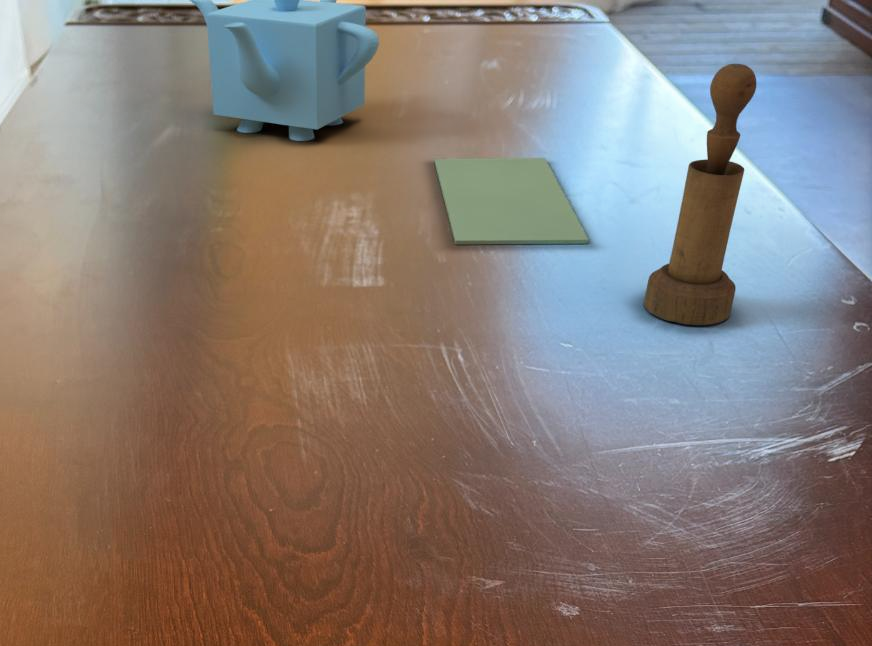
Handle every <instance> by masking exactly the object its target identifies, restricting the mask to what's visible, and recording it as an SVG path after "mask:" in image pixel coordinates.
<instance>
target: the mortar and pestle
mask: <svg viewBox="0 0 872 646" xmlns="http://www.w3.org/2000/svg"><path fill="white" fill-rule="evenodd" d="M756 77H757V76H756V74H755V71H754V70H753V69H752V68H751V67H750V66H748V65H746V64H744V63H743V64H742V63H729V64H726V65H724V66H722V67H721V68H720V69H718V70H717V72H716V73H714V76H713V78H712V80H711V82H710V87H709V95H710V99H711V102H712V105H713V108H714V111H715V122H714V126H713V127H712V129H709V130H707V132H706V156H707V159H697V160H694V161H691V162H689V163H688V167H687V172H686V177H685V183H684V188H683V194H682V199H681V204H680V209H679V214H678V219H677V225H676V230H675V235H674V240H673V245H672V248H671V252H670V253H671V254H670V259H669V263H666V264H664V265H662V266H661V267H660V268H658V269H656V270H654V271H652V273H651V274H649V276H648V280H647V284H646V289H645V294H644V300H643V306H644V308H645V310H646V311H648V313H650V314H651V315H653V316H655V317H657V318H659V319H661V320H663V321H667V322H672V323H677V324H680V325H687V326H710V325H717V324H719V323H722V322H724V321H726V320H728V318H729V317H730V315H731V313H732V309H733V304H734V299H735V294H736V289H737V288H736V284H735V282H734V281H733V280H732V279H731V278H730V277H729V275H728V273H726V271H724V270H723V266H724V261H725V256H726V251H727V247H728V243H729V238H730V234H731V228H732V225H733V220H734V215H735V212H736V208H737V203H738V199H739V195H740V191H741V187H742V183H743V182H742V181H743V178H744V174H745V167H743V166H742V165H741V164H740V163H737V162H734V161H730V160H731V158H732V156H733V154H734V152H735V150H736V149H737V146H738V145H739V144H738V143H739V141H740V138H741V133H740V131H738V130H737V129H738V128H737V123H738V120H739V116H740V114H741V113H742V112H743V111H744V109H745V108H746V107H747V106H748V104H749V103H750V102H751V100H753V97H754V95H755V93H756V89H757V78H756Z"/></svg>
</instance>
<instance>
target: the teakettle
mask: <svg viewBox="0 0 872 646" xmlns="http://www.w3.org/2000/svg"><path fill="white" fill-rule="evenodd" d="M189 1H190V2H191V3H192V4H193V5H195V6H196V7H197V9H199V11H200V13H201V14H202V16H203V18H204V21H205V24H206V29H207V40H208V41H207V43H208V57H209V71H210V84H211V86H210V87H211V98H212V111H213V112H212V113H213V115H216V116H222V117H228V118H234V119H241V121H240V122H239V125H238V127H237V128H236V132H239V133H245V134H252V133H258V132H261V131H262V128H263V126H264V123H270V124H277V125H281V126H288V138H289V139H290V140H291V141H295V142H306V141H311V140H314V139H315V134H314V130H319V129H321V128H323V127H325V126H338V125H339V126H340V125H341V124H343V123H344V121H343V119H342V117H344V116H346V115H348V114H349V113H351V112H354V111H355V110H357V109H359V108H361V107H364V106H365V103H366V101H365V100H366V66H367V65H368V64H369V63H370V62H371V61H372V60H373V58H374V56H375V55H376V53H377V52H378V48H379V45H380V38H379V35H378V34H377V33H376V32H375V31H374V30H372V29H371V28H369V27H366V26H367V25H366V21H367V10H366V9H367V8H366V6H365V5H361V4H360V5H359V4H349V3H340V2H339V3H338V2H337V0H319V1H318V0H317V1H316V0H246V1H242V2H239V3H236V4H233V5H230V6H226V7H224V8H220V9H219V8H218V7H217V5H216V4H215V2H214V1H212V0H189Z"/></svg>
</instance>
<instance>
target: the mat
mask: <svg viewBox="0 0 872 646" xmlns="http://www.w3.org/2000/svg"><path fill="white" fill-rule="evenodd" d="M433 163H434V167H435V171H436V175H437V178H438V183H439V187H440V190H441V194H442V198H443V202H444V206H445V210H446V213H447V216H448V221H449V225H450V229H451V233H452V236H453V241H454V244H455V245H456V246H457V245H458V246H459V245H575V244H576V245H587V244H589V241H590V238H589V237H588V236H587V234H586V232H585V230H584V228H583V226H582V224H581V222H580V220H579V219H578V217H577V215H576V213H575V212H574V211H575V210H574V209H573V208H572V206H571V204H570V202H569V200H568V198H567V196H566V195H565V192H564V191H563V189H562V187H561V186H560V183H559V182H558V180H557V177H556V176H555V174H554V172H553V170H552V169H551V167H550V165H549V162H548V161H547V159H546V157H492V158H491V157H487V158H484V157H483V158H481V157H479V158H474V157H473V158H471V157H470V158H468V157H467V158H465V157H463V158H434V160H433Z"/></svg>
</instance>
